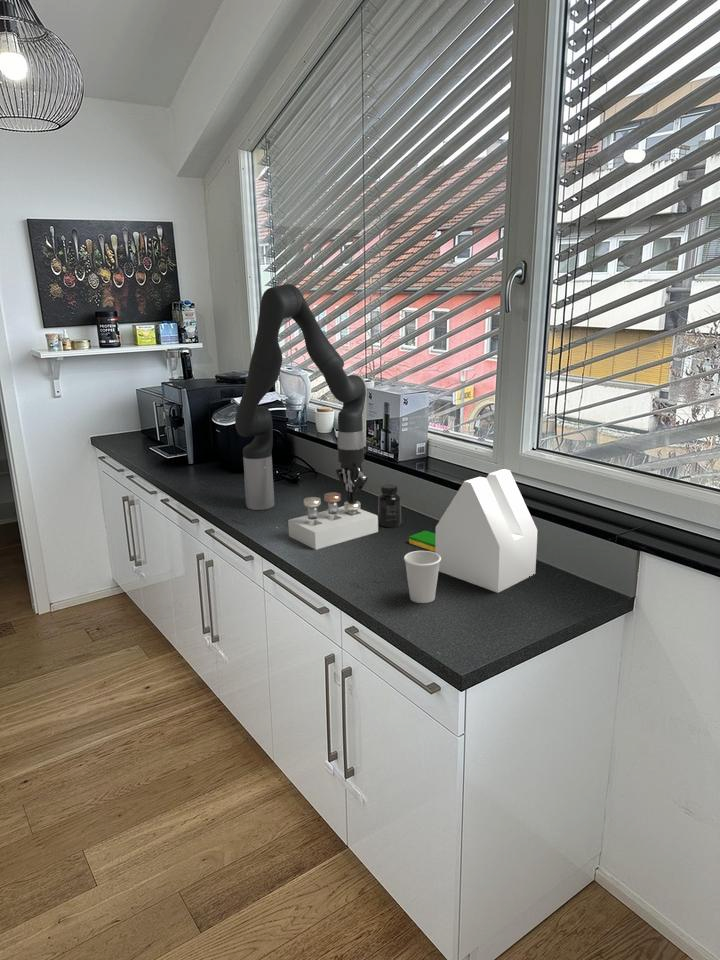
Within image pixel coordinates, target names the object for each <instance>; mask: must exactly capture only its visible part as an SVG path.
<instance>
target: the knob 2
mask: <svg viewBox="0 0 720 960" xmlns="http://www.w3.org/2000/svg"><path fill="white" fill-rule="evenodd" d="M343 506H344V509H346V510H348V515H350V516H353V515H356V514H357V510H358V509H362V508H361V502H360V500H357V502H356V503H354V504H350V503H348V500H347V501H344V504H343Z"/></svg>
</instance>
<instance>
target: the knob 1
mask: <svg viewBox="0 0 720 960" xmlns="http://www.w3.org/2000/svg"><path fill="white" fill-rule="evenodd" d="M321 505H322V501H321V497H317V496H309V497H305V498H304V499H303V506H304V507H306V508H307V515H308V519H310V520H314V519H317V518H318V512H319V511H318V507H320V506H321Z"/></svg>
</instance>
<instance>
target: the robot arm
mask: <svg viewBox="0 0 720 960" xmlns="http://www.w3.org/2000/svg"><path fill="white" fill-rule="evenodd" d="M258 313H259V314H258V315H259V316H258V321H257V323H258V324H257V330H256V335H255V342H254V345H253V349H252V354H251V359H250V363H249V367H248V373H247V378H246V383H245V386H244V390H243V392H242V396H241V398H240V401H239V404H238V408H237V410H236V413H235V421H234V426H235V429H236V430H235V431H236V433H237V434H238V435H239V436H240V437H243V438H251V437H254V438H253V440H252V441H251V442H250V443H249V444H246V445H245V446H244V447H243V448H242V460H243V471H244V472H243V473H244V475H243V476H244V478H243V479H244V480H243V481H244V494H245V495H244V496H245V497H244V498H245V505H246V508H247V509H248V510H254V511H262V510H269V509H271V508H273V507H274V506H275V490H274V476H273V475H274V474H273V470H274V469H273V457H272V456H273V455H272V450H273V446H274V445H273V443H274V441H273V440H274V439H273V434H274V433H273V432H274V431H273V428H274V427H273V423H274V422H273V416H272V412H271V411H270V409H269V408H268V407H267V406H265V405H259V404H260V403H261V401H262V399H263V398H264V397H265V396H266V395H267V393H269V391H270V390H271V389H272V388H273V387H274V385H275V384H276V383H277V381H278V379H279V376H280V372H281V368H282V365H283V354H282V350H281V346H280V343H279V333H280V329H281V325H282V323H283V321H284V320H286V319H289V318H291V319H292V320H293V321H294V322H295V323H296V324H297V325H298V327H299V329H300V331H301V332H302V335H303V339H304V343H305V347H306V351H307V354H308V356H309V358H310V359H311V361H312V362H313V364H315V367H317V369H318V370H319V371H320V373H322V375H323V377H324V380H325V382H326V385H327V387H328V388H329V391H330V392H331V394H332V395H333V397H334V398H335V399H336V400H337V401H339V402H341V403H342V408H341V409H340V411H339V412H338V414H337V415H338V416H337V461H338V462H339V463H340V468H337V469H335V472H336V476H337V478H338V480H339V482H340V484H341V487H342V488H343V489H345V491H346V492H347V493H346V495H347V496H346V497H347V498H346V499H347V501H348V503H350V504H354V503H356V502H357V501H358V491H361V490H362V489H363V488H364V486H365V484H366V482H367V481H368V475H364V473H363V468H362V466H363V465H362V463H364V461H365V440H364V432H363V429H364V428H363V425H364V424H363V413H364V407H365V402H366V397H367V396H366V394H367V393H366V392H367V389H366V384H365V381H364V379H362V377H360V376H359V375H357V374H356V375H355V374H353V375H352V374H351V375H348V374H347V373H346V372H345V369H344V366H345V362H344V360H343V358H342V357H341V355H340V354H339V353H338V351H337V350H336V348H335V347H334V346H333V345H332V343H331V342H330V341H329V339H328V338H327V336H326V334H325V333H324V331H323V330H322V328H321V327H320V324H319V323H318V321H317V319H316V317H315V316H314V314H313V312H312V310H311V308H310V307H309V305H308V302H307V301H306V299H305V297H304V295H303V293H302V292H301V290H299V288H298V287H297V286H295V285H294V284H291V283H285V284H280V285H276V286H272V287H269V288H267V289H265V291H264V292H263V293H262V296H261V300H260V304H259V312H258Z"/></svg>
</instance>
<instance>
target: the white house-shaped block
mask: <svg viewBox="0 0 720 960" xmlns="http://www.w3.org/2000/svg"><path fill="white" fill-rule="evenodd" d="M532 517H533V516H532V515H531V513H530V511H529V508H528V507H527V505H526V503H525V500H524V497H523V496H522V493H521V491H520V489H519V487H518V485H517V482H516V481H515V478H514V477H513V474H512V471H511V470H510V469H504V468H503V469H502V468H501V469H499V470H497V471H492V472H490V473H488V474H487V476H486V477H482V476H478V477H474V478H471V479H467V480H464V481H463V482H462V484H461V486H460V487H459V489H458V490H457V493H456V494H455V495H454V497H453V499H452V500H451V502H450V503H449V505H448V507H447V508H446V510H445V511H444V513H443V514H442V516H441V518H440V519H439V521H438V522H437V524H436V526H435V534H436V539H435V552H434V553H436V554H438V555H439V556H440V557H441V561H440V564H439V571H438V572H439V573H443V574H446V575H448V576H450V577H453V578H456V579H459V580H462V581H465V582H467V583H470V584H472V585H476V586H478V587H481V588H484V589H486V590H489V591H492V592H494V593H497V594H498V593H501V592H503V591H505V590H506V589H508V588H511V587H512V586H514V585H517V584H518V583H520V582H523V581H524V580H526V579H528V578H530V577H532V576H534V575H536V569H537V568H536V566H537V549H538V548H537V547H538V528H537V526H536V524H535V522H534V519H533V518H532ZM533 574H534V575H533ZM529 576H530V577H529Z"/></svg>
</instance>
